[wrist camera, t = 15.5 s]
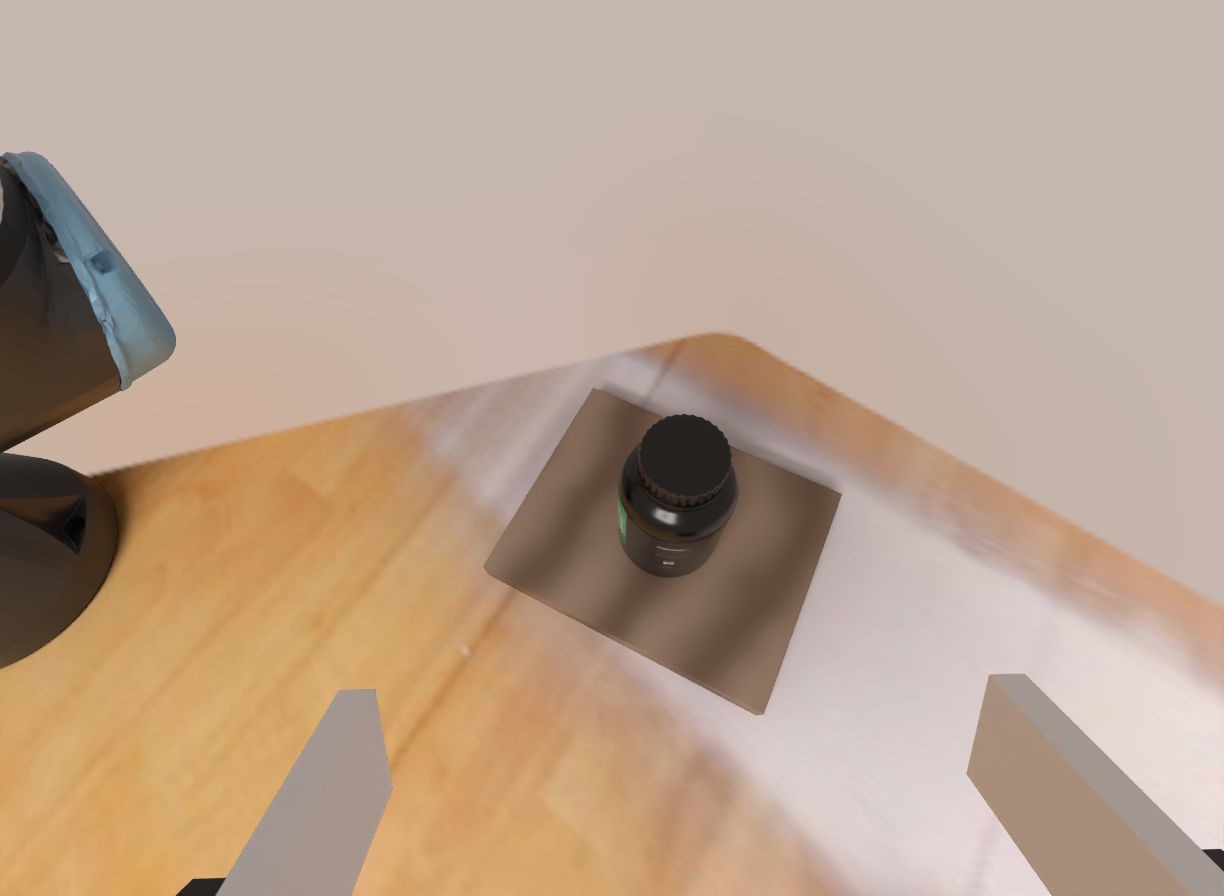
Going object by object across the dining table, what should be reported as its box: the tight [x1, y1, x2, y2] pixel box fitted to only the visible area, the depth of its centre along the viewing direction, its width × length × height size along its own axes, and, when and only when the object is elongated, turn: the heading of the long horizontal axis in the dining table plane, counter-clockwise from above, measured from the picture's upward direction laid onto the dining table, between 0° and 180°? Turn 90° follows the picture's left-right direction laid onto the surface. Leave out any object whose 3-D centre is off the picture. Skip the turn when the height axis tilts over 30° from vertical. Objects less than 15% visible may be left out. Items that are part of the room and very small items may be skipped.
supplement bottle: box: [618, 414, 739, 578], centre depth 35 cm, size 7×7×12 cm
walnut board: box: [483, 388, 842, 715], centre depth 42 cm, size 20×16×2 cm
